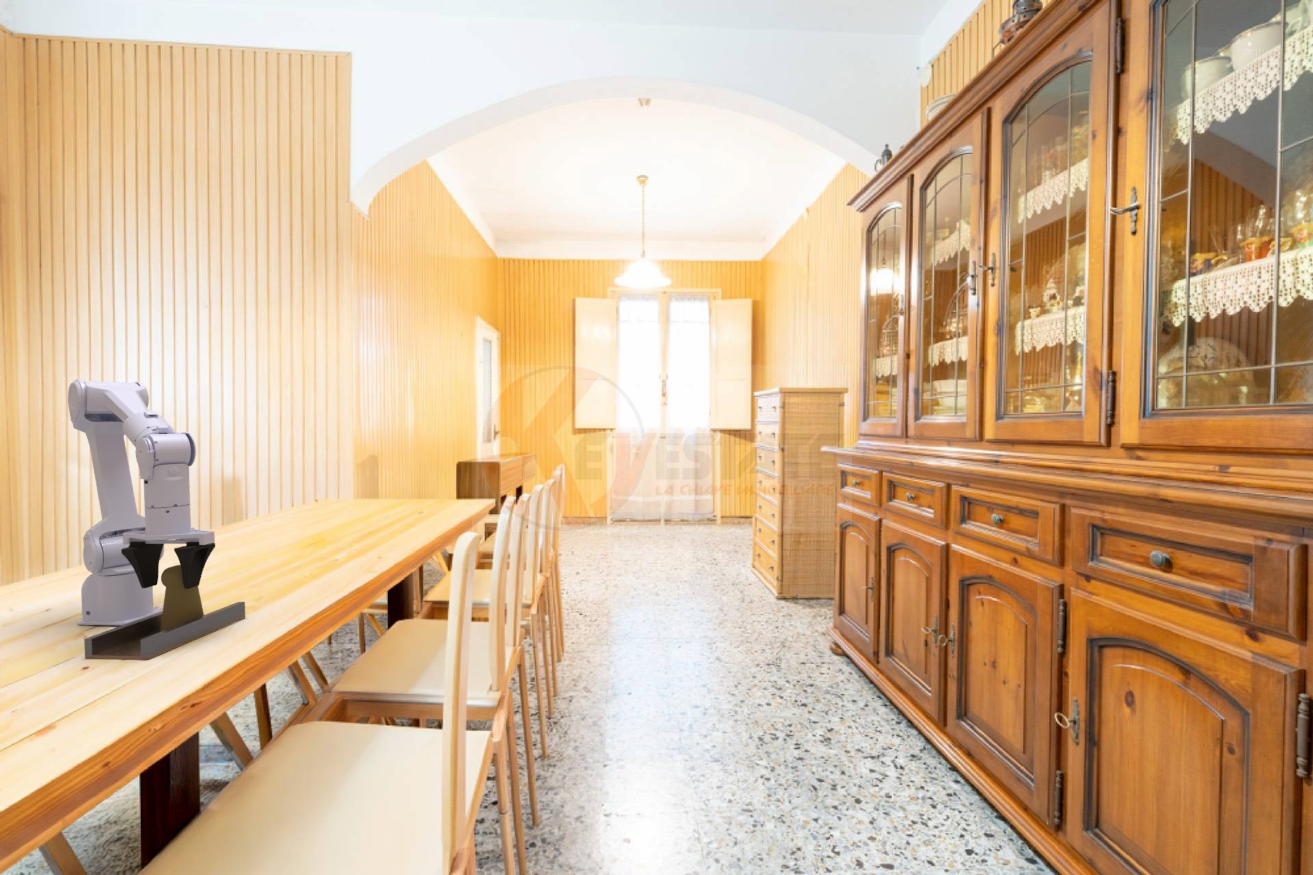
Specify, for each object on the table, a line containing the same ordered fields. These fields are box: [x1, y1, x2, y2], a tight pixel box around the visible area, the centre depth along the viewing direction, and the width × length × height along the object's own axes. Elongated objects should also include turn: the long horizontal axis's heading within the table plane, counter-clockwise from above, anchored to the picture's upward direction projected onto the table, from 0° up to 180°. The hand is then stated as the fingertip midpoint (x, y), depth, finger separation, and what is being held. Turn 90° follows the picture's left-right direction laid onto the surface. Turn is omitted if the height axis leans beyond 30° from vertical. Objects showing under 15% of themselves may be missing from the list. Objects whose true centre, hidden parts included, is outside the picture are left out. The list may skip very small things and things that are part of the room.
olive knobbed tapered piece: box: [160, 564, 205, 632], centre depth 95 cm, size 6×6×11 cm
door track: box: [83, 601, 246, 661], centre depth 93 cm, size 10×18×3 cm, turn 176°
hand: (170, 586), depth 93 cm, fingers open, 7 cm apart
